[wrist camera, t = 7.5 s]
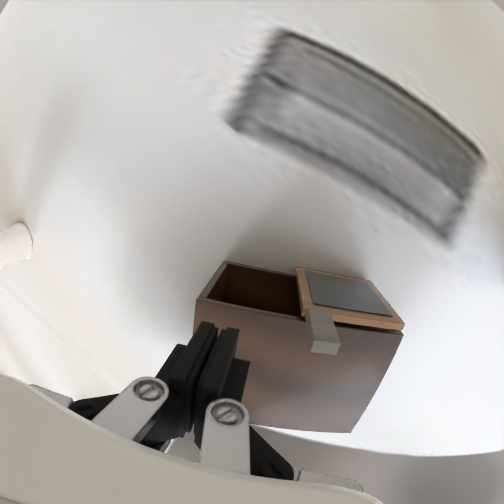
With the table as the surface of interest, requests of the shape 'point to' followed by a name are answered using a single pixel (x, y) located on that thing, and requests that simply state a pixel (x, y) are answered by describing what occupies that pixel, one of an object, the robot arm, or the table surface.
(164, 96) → the table surface
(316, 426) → the cabinet
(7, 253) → the beer glass
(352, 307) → the sliding door
